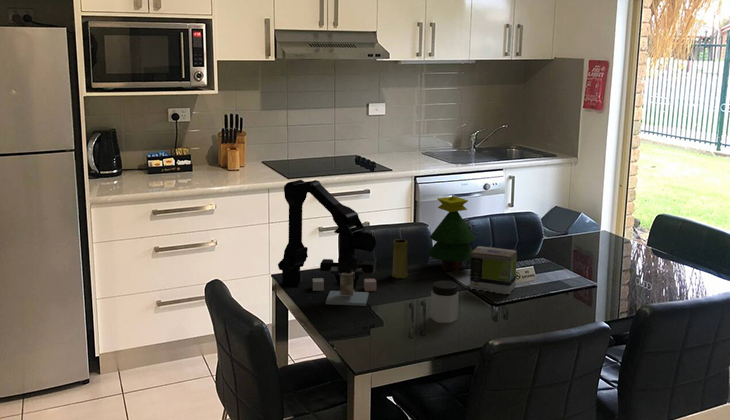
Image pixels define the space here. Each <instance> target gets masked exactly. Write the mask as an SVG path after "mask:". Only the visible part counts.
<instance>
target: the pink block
mask: <svg viewBox="0 0 730 420" xmlns="http://www.w3.org/2000/svg"><path fill="white" fill-rule="evenodd" d="M363 289H364V292H375V291H376V292H377V280H376V278H364V279H363Z"/></svg>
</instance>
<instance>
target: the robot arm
mask: <svg viewBox="0 0 730 420" xmlns="http://www.w3.org/2000/svg"><path fill="white" fill-rule="evenodd" d="M283 193H284V199H285V201H286V203H287V204H288V241H287V242H288V243H287V244H286V246H285V247H284V248H285V249H284V251H283V252H284V253H283V258H282V259H281V260H280V261H279V262H278V263H277V266H278V270H280V271H281V272H282V273H281V276H282V278H281V279H282V283H281V287H300V285H301V283H302V280H303V277H302V276H303V274H302V273H303V271H302V270H301V268H302V267H304V265H305V262H307V258H309V257H308V256H309V255H308V251H309V250H308V247H307V246H305V245H304V243H303V204H304V203H305V201H306V199H307V197H308V196H307V195H308V193H309V194H311V195H312V197H313V198H314V199H315V200H316V201H318V203H320V204H321V205H322V206H323V208H324V209H326V210H327V211H328V212H329V213H330V214H331V217H332V220H333V222H334V223H335V225H336V226H337V228H336V229H335V230H334V234H338V236H339V238H338V239H339V241H338V242H339V246H338V248H339V251H338V252H339V256H338V258H337V262H334V259H333V258H332V259H330V258H323V259H322V260H321V262H320V263H319V264H320V265H319V271H321V272H329V273H330V274H333V276H334V277H335V279H336V281H337V285H338V288H339V289H340V276H341V273H348V274H350V273H352V272H353V270H355V272H354V273H355V278H354V291H355V290H356V286H357V285H358V284H357V283H358V281H359V278H360V276H361V275H362V276H363V275H364V274H373V273H374V272H375V269H376V268H375V266H376V265H375V264H376V263H375V262H374V260H362V263H360V262H359V259H358V258H357V256H356V252H357V251H356V250H358V251H363V252H366V253H372V252H373V251H374V249H375V247H376V244H377V241H376V237H375V236H374V235H373V232H372V231H365V230H366V229H365V227H364V225H363V223H362V221H361V219H360V217H359V214H358V212H357V211H355V210H354V209H353V208H351V207H350V206H348V205H345V204H343V203H341V202H340V201H339V200H338V199H336V197H334V195H332V194H331V193H330V192H329V191H328V190H327V189H326V188H325V187H324V186H323V185H322V183H321V182H320V181H319V180H316V179H315V180H310V181H309V180H307V181H304V180H303V179H296V180H291V181H289V182H286V184H284V186H283Z"/></svg>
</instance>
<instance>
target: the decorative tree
mask: <svg viewBox="0 0 730 420" xmlns="http://www.w3.org/2000/svg"><path fill="white" fill-rule="evenodd" d="M437 201H439V202H440V203H441V204H440V205H439V206H438V207H437V208H438V209H439V210H443V211H446V212H447V214H446V215H445V216H444V218H443V219H442V220H441V221H440V223H439V224H438V225H437V227H436V228H435V229H434V231H432V233H431V235H430V236H429V238H430V239H431V240H432V241H434V242H435V243H434V244H433V246H432V247H431V248H430V249H429V250H428V251H427V255H428V256H429V257H430V258H432V259H435V260H440V261H441V270H442V271H445V272H450V271H454V272H458V271H457V270H459V271H461V262H463V261H471V252H472V251H473V250H474V249H472V247H471V245H470V244H469V243H473V242H475V241H476V239H477V238H476V237H475V234H474V233H473V232H472V231H471V229H470V228H469V226H468V224H467V223H466V221H465V220H464V218H463V216H462V215H461V214H460V213H459V212H462V211H468V208H466V207H465V206H464V205H465V204H466V203H468V202H469V200H468V199H466V198H461V197H459V196H454V195H452V196H448V197H446V196H445V197H440V198H437Z"/></svg>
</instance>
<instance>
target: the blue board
mask: <svg viewBox="0 0 730 420" xmlns="http://www.w3.org/2000/svg"><path fill="white" fill-rule="evenodd" d="M369 292H370V291H354V294H353V296H350V295H340V290H330V291H329V292H328V295H327V297H326V300H325V305H339V306H341V305H342V306H361V307H366V305H367V301H368V298H369V295H370V293H369Z"/></svg>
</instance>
